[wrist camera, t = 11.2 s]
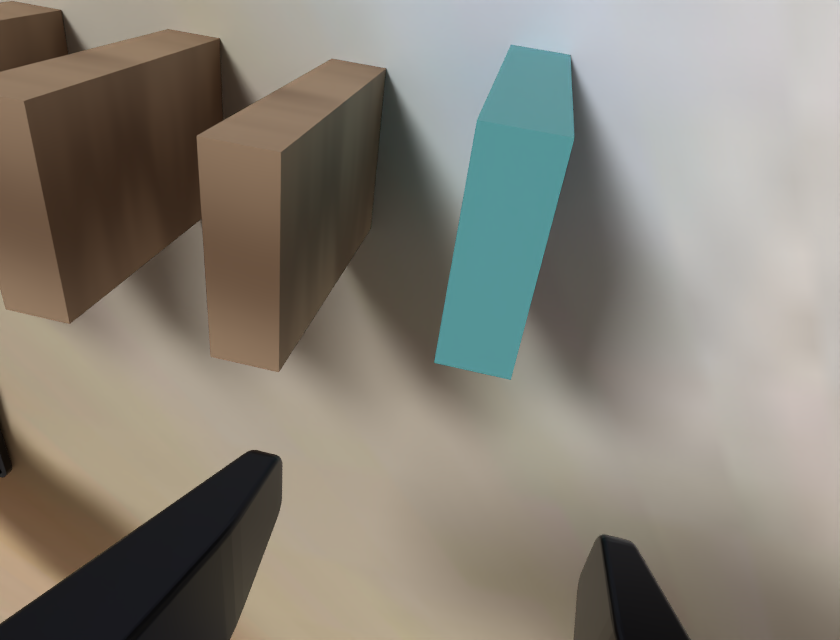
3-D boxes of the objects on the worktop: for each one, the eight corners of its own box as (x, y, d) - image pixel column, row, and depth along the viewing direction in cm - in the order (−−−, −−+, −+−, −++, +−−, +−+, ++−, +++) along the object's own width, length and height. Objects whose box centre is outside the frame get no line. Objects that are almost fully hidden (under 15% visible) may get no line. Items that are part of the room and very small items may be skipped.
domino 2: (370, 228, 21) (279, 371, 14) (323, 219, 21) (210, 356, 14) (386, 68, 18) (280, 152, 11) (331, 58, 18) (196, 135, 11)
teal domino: (528, 225, 20) (510, 379, 13) (478, 215, 20) (434, 363, 13) (570, 55, 17) (574, 138, 10) (511, 44, 17) (476, 119, 10)
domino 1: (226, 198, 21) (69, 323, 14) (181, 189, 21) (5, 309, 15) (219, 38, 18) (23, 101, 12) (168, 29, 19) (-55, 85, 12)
